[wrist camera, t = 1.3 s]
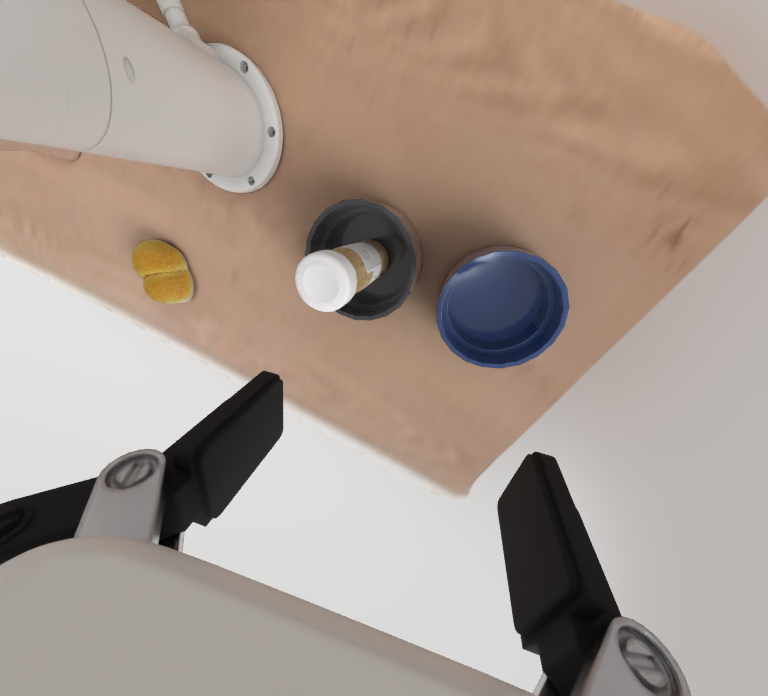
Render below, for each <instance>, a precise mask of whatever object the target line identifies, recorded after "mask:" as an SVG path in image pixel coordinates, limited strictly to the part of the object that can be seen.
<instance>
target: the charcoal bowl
mask: <svg viewBox="0 0 768 696" xmlns="http://www.w3.org/2000/svg"><path fill="white" fill-rule="evenodd" d="M364 240H374V241H377V242H379V243H380V244H382V246H383V247H384V248H385V250H386V251H387V254H388V266H387V269H386V271H385V272H384V274H383V275H382V276H380V277H379V278H376V279H375V280H374V281H373V282H372V283H370V284H369V285H368V286H366V287H365V288H364V289H362V290H361V291H359V292H357V293H356V294H354V296H353V297H352V299H351V300H350V301H349V302H348V303H347V304H345V305H344V306H342V307H341V308H339V309H338V310H335V311H336V312H337V313H339V314H341V315H343V316H346V317H349V318H352V319H355V320H374V319H378V318H381V317H385V316H387V315H389V314H390V313H392V312H393V311H395V310H396V309H397V308H399V307H400V306H401V305H402V303H403V302H404V301H405V299H406V298H407V297H408V295H409V294H410V292H411V291H412V289H413V288H414V286H415V284H416V283H417V280H418V277H419V274H420V271H421V267H422V248H421V245H420V242H419V238H418V235H417V233H416V230H415V229H414V227H413V226H412V224H411V223H410V221H409V220H408V219H407V217H406V216H404V215H403V214H402V213H400V212H399V211H398V210H397V209H395V208H394V207H392V206H390V205H387V204H383V203H380V202H377V201H372V200H366V199H354V200H344V201H341V202H339V203H337V204H335V205H333V206H331V207H329V208H327V209H326V210H325V211H324V212H323V213H322V214H321V215H320V216H319V217H318V219H317V220H316V221H315V222H314V224H313V226H312V228H311V231H310V233H309V235H308V237H307V243H306V252H305V257H306V256H307V255H309V254H311V253H314V252H317V251H322V250H333V249H335V248H338V247H342V246H346V245H350V244H354V243H359V242H361V241H364Z"/></svg>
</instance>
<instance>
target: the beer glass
mask: <svg viewBox="0 0 768 696" xmlns="http://www.w3.org/2000/svg"><path fill="white" fill-rule="evenodd" d="M0 151H26V152H35V153H41V154H45V155H48V156H52V157H55V158H59V159H62V160H66V161H74V160H76V159H77V158H78V157H79V155H80V152H79V151H73V150H67V149H61V148H55V147H49V146H43V145H37V144H30V143H24V142H17V141H10V140H3V139H0Z"/></svg>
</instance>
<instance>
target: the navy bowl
mask: <svg viewBox="0 0 768 696" xmlns="http://www.w3.org/2000/svg"><path fill="white" fill-rule="evenodd" d="M568 311H569V300H568V291H567V287H566V285H565V283H564V282H563V280H562V278H561V276H560V275H559V273H558V271H557V270H556V269H555V268H553V267H552V266H551V265H550V264H548V263H547V262H546V261H544V260H543V259H542V258H540V257H539V256H537V255H535V254H533V253H531V252H529V251H526V250H523V249H520V248H517V247H513V246H490V247H487V248H484V249H481V250H478V251H475V252H473V253H471V254H470V255H468V256H467V257H465V258H464V259H463V260H461V261H460V262H458V263H457V264H456V265H455V267H454V268H453V269H452V270H451V272H450V273H449V274H448V276H447V277H446V279H445V281H444V284H443V287H442V289H441V292H440V296H439V300H438V304H437V324H438V327H439V331H440V334H441V337H442V339H443V340H444V342H445V343H446V344H447V346H448V347H449V348H450V350H451V351H452V352H454V353H455V354H456V355H458V356H459V357H460V358H462V359H463V360H464V361H467V362H469V363H472V364H475V365H478V366H481V367H489V368H505V367H511V366H516V365H520V364H523V363H525V362H527V361H529V360H531V359H534V358H536V357H537V356H539V355H540V354H541V353H543V352H544V351H545V350H546V349H547V348H549V347H550V346H551V345H552V344H553V343H554V342H555V340H556V339H557V337H558V336H559V334H560V333H561V331H562V330H563V328H564V326H565V323H566V319H567V315H568Z"/></svg>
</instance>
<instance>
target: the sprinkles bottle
mask: <svg viewBox="0 0 768 696" xmlns="http://www.w3.org/2000/svg"><path fill="white" fill-rule="evenodd" d="M387 266H388V254H387V251H386V250H385V248H384V247H383V246H382V244H380V243H379V242H377V241H374V240H364V241H361V242H359V243H354V244H350V245H346V246H342V247H338V248H335V249H333V250H322V251H317V252H314V253H311V254H309V255H307V256H306V257H304V258H303V259H302V260H301V261H300V263H299V264H298V267H297V269H296V274H295V282H296V287H297V290H298V292H299V294H300V296H301V297H302V299H303V300H304V301H305V302H306V303H307V304H308V305H309V306H310V307H312V308H314V309H316V310H319V311H323V312H331V311H335V310H338V309H339V308H341V307H342V306H344V305H345V304H347V303H348V302H349V301H350V300H351V299H352V297H353V296H354V294H356V293H357V292H359V291H361V290H362V289H364V288H365V287H366V286H368V285H369V284H370V283H372V282H373V281H374V280H375V279H376V278H379V277H380V276H382V275H383V274H384V272H385V271H386V269H387Z"/></svg>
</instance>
